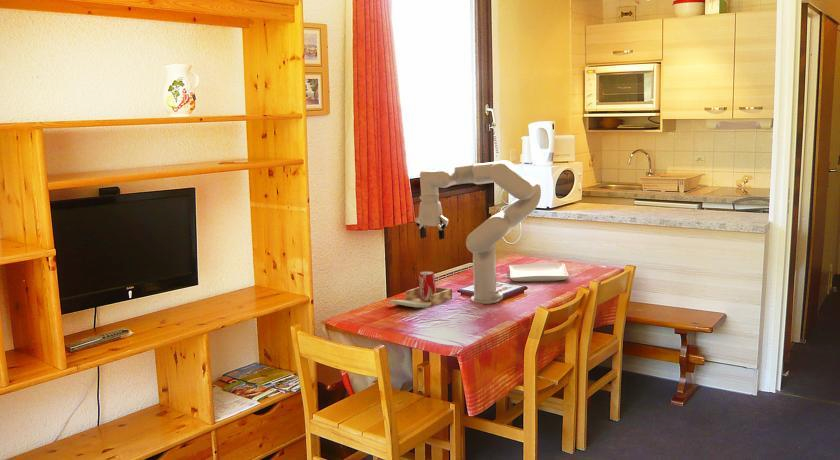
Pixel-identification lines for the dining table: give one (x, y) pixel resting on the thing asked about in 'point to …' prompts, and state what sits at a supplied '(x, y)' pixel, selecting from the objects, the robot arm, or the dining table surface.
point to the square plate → (538, 272)
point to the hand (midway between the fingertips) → (432, 238)
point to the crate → (437, 298)
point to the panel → (409, 303)
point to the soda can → (427, 285)
